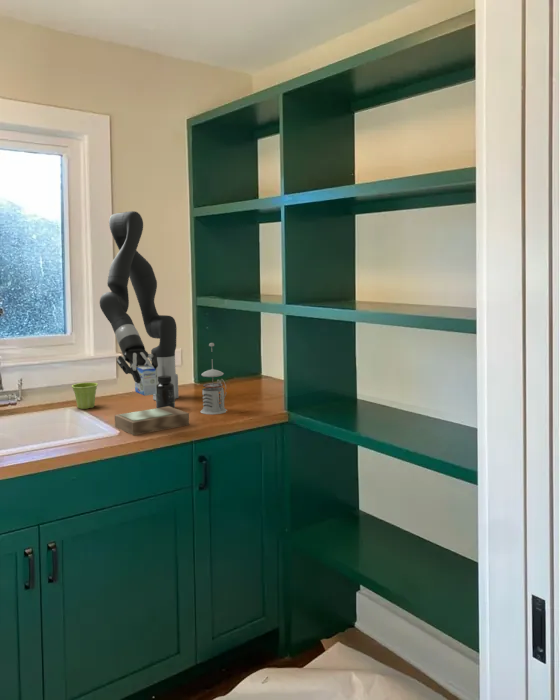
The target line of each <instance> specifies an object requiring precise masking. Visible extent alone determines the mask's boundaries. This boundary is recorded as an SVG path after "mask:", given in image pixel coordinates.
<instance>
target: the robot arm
mask: <svg viewBox="0 0 560 700" xmlns="http://www.w3.org/2000/svg"><path fill="white" fill-rule="evenodd" d="M108 223H109V225H108V226H109V229H110V233H111V236H112V238H113V240H114V242H115V244H116V246H117V248H118V252H117V254H116V255H115V257H114V258H113V260H112V262H111V263H110V267H109V270H108V276H107V277H108V278H107V287H108V288H109V290H110V291H106V292H104V293H103V294H101V296H100V298H99V307H100V309H101V311H102V313H103V314H104V316H105V318H106V319H107V321H108V322H109V323H110V325H111V328H112V330H113V332H114V334H115V338H116V342H117V344H118V346H119V349H120V351H121V354H122V355H120V356H118V358H117V360H116V364H118V366H119V367H120V369H121V370H122V371H123V373H124V374H126V375H129V374H130V375H131V376H132V378H133V381H134V383H135V382H137V383H140V381H141V378H140V376H139V373H138V371H136V366H142V365H146V366H149V367H152V368H155V370H156V385H157V384H158V383H159V382H158V377H159V376H171V383H172V384H173V385H174V393H175V400H176V399H179V398H180V397H179V395H180V394H179V375H178V373H177V371H176V349H177V335H178V334H177V333H178V332H177V331H178V330H177V328H178V327H177V323H176V320H175V318H174V317H173V316H172V315H161V314H159V313H158V311H157V307H156V305H155V298H156V293H157V290H158V289H157V288H158V281H157V278H156V275H155V272H154V269H153V267H152V265H151V264H150V263H149V261H148V260H147V259H146V258H144V256H143V255H141V253H139V251H138V250H137V249H138V247H139V246H138V245H139V243H140V240H141V239H142V234H143V232H144V231H143V230H144V221H143V218H142V215H141V214H140V213H139V212H137V211H133V210H131V211H125V212H118V213H113V214H111V216H110V217H109V221H108ZM129 279H130V280H129ZM129 281H130V284H131V285H132V287H133V291H134V292H135V296H136V299H137V302H138V305H139V308H140V313H141V317H142V320H143V325H144V329H145V331H146V334H147V336H148V337H150V338H152V339H159V343H158V345H157V346H156V347H153V348H152V349H151V351H150V353H148V351H147V350H146V347H145V345H144V342H143V340H142V338H141V336H140V334H139V332H138V330H137V328H136V326H135V324H134V322H133V320H132V318H131V316H130V315H129V314H128V313H127V312H128V310H129V306H130V301H129V299H130V297H129V289H128V286H129V285H128V284H129ZM152 400H153V401H156V394H154V395H152Z"/></svg>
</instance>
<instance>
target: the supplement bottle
mask: <svg viewBox="0 0 560 700" xmlns="http://www.w3.org/2000/svg"><path fill="white" fill-rule="evenodd" d="M158 382H159V383H158V384H157V385H156V389H157V394H156V400H155V403H156V404H155V405H156V408H161V407H167V406H170V407H172V408H175V409H176V399H175V393H174V385H173V384H172V383H171V376H159V377H158Z"/></svg>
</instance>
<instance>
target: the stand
mask: <svg viewBox="0 0 560 700" xmlns="http://www.w3.org/2000/svg"><path fill="white" fill-rule="evenodd" d="M185 425H186V426H189V425H190V413H189V412H187V411H185V410H184V411H183V410H181V409H177V408H176V407H175V408H172V407H170V406H167V407H161V408H155V407H154V408H150V409H149V408H148V409H143V410H137V411H132V412H125V413H120V414H114V427H115V428H117V429H118V430H121V431H123V432H126V433H128V434H130V435H132V436H136V435H142V434H147V433H153V432H157V431H163V430H168V429H174V428H180V427H185Z"/></svg>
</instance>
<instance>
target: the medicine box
mask: <svg viewBox="0 0 560 700" xmlns="http://www.w3.org/2000/svg"><path fill="white" fill-rule="evenodd" d="M136 371H138V373H139V376H140V378H141V381H140V383H137V382H135V381H134V391H135V393H136V394H140V395H142V396H153V395H154V394H157V389H156V370H155V368H152V367H149V366H146V365H142V366H136Z"/></svg>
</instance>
